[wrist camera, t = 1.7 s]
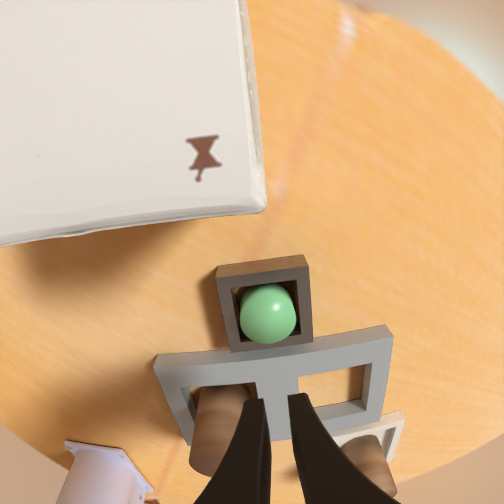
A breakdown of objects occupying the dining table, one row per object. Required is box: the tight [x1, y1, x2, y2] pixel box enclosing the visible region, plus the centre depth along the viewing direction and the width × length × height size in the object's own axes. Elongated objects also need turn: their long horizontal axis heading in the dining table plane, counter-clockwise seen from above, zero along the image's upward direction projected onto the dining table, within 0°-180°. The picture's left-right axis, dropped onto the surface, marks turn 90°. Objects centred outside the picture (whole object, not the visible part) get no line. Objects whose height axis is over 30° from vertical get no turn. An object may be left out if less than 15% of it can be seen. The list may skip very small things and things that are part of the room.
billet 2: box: [341, 435, 397, 498], centre depth 21 cm, size 4×4×6 cm
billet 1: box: [189, 383, 251, 477], centre depth 19 cm, size 4×4×6 cm
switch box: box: [215, 254, 313, 353], centre depth 18 cm, size 5×5×2 cm
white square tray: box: [329, 410, 406, 463], centre depth 24 cm, size 8×8×1 cm
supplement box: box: [0, 0, 267, 247], centre depth 10 cm, size 7×7×13 cm
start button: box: [240, 283, 296, 344], centre depth 17 cm, size 3×3×2 cm
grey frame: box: [153, 325, 394, 446], centre depth 21 cm, size 9×16×2 cm, turn 98°
